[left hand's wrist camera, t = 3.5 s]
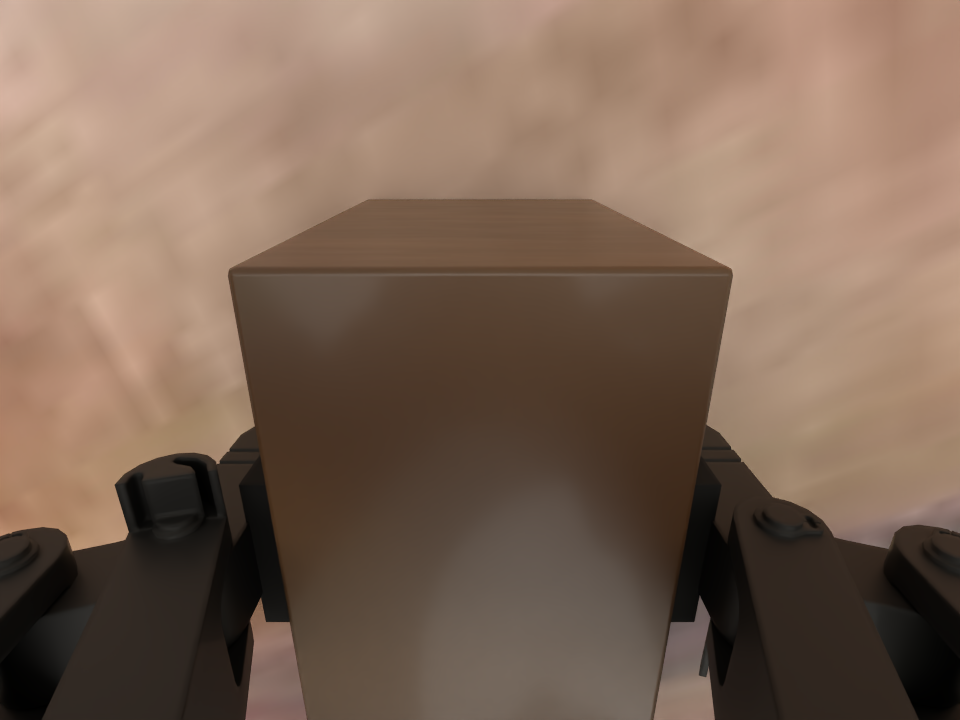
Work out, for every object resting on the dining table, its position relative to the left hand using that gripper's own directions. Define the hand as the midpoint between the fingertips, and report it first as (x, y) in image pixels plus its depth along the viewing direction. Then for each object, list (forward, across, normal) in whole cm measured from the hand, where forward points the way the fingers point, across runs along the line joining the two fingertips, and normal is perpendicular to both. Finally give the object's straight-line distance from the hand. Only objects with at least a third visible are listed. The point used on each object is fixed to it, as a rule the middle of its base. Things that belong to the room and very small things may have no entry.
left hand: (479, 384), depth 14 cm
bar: (+1, 0, -31) cm, 31 cm away
